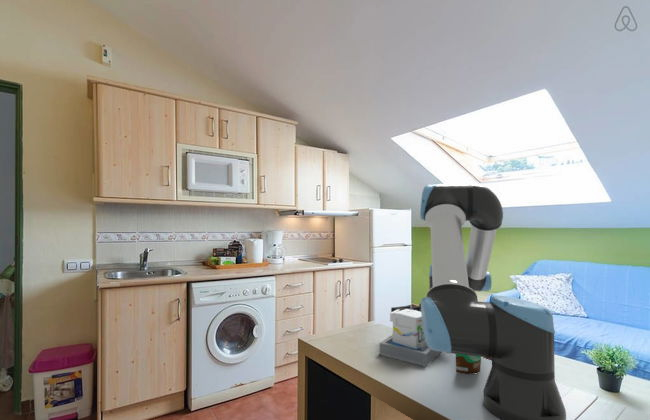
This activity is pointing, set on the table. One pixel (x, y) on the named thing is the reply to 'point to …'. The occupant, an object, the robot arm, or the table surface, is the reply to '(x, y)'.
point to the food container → (468, 364)
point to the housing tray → (407, 353)
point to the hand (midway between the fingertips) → (411, 321)
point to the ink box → (408, 330)
